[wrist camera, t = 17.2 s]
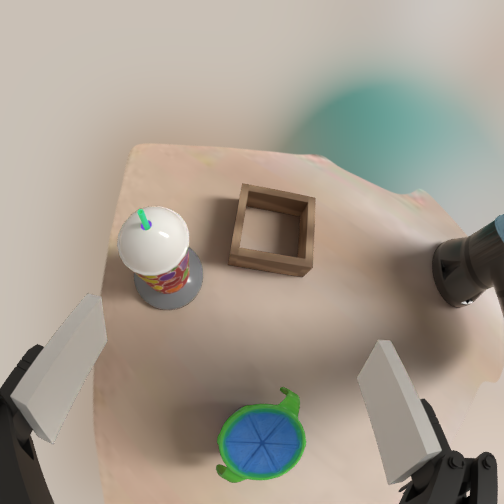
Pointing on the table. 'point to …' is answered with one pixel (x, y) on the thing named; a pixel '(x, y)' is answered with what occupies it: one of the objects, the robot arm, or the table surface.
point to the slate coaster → (176, 298)
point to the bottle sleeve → (282, 204)
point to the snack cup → (262, 440)
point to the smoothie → (156, 248)
